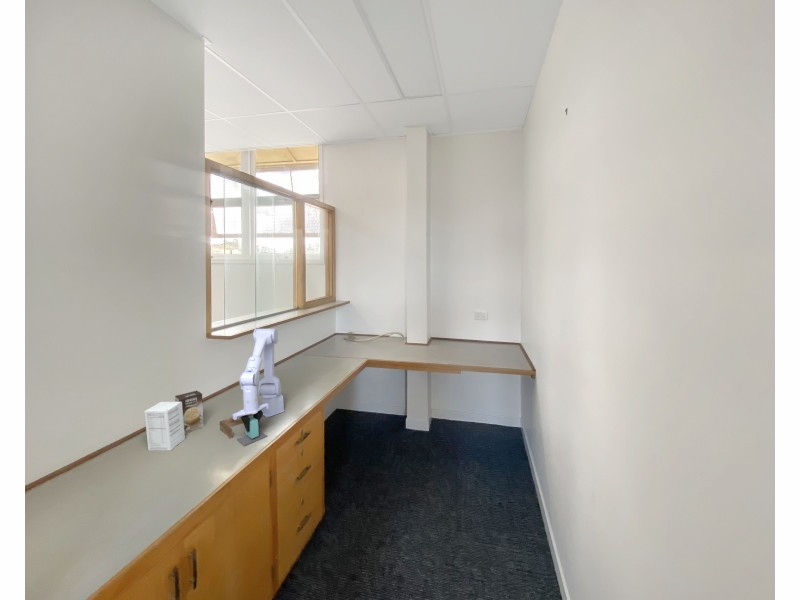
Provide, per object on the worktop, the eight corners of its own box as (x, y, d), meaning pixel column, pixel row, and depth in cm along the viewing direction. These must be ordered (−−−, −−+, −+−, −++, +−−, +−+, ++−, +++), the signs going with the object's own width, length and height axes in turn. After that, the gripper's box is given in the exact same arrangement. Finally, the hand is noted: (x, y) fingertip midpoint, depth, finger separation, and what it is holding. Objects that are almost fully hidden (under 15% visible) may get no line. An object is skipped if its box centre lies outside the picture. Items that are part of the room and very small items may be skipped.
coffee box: (181, 435, 143) (179, 399, 141) (176, 430, 147) (173, 396, 145) (204, 427, 150) (202, 393, 149) (199, 422, 154) (196, 389, 153)
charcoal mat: (259, 431, 147) (259, 430, 147) (267, 436, 142) (267, 435, 142) (237, 440, 140) (236, 439, 139) (244, 446, 135) (244, 445, 135)
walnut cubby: (248, 419, 158) (248, 411, 157) (259, 427, 150) (259, 419, 150) (220, 429, 148) (219, 421, 147) (229, 438, 141) (229, 429, 140)
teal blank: (252, 431, 144) (251, 415, 143) (258, 435, 140) (258, 420, 139) (245, 433, 142) (244, 418, 141) (251, 438, 138) (250, 422, 137)
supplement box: (185, 438, 140) (183, 401, 138) (170, 451, 131) (167, 411, 129) (163, 438, 140) (160, 400, 138) (147, 450, 131) (143, 410, 129)
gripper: (236, 407, 131) (238, 439, 132) (271, 396, 142) (272, 426, 143) (229, 402, 136) (231, 433, 137) (263, 392, 146) (264, 421, 148)
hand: (252, 429), depth 141 cm, fingers closed on teal blank, 3 cm apart
